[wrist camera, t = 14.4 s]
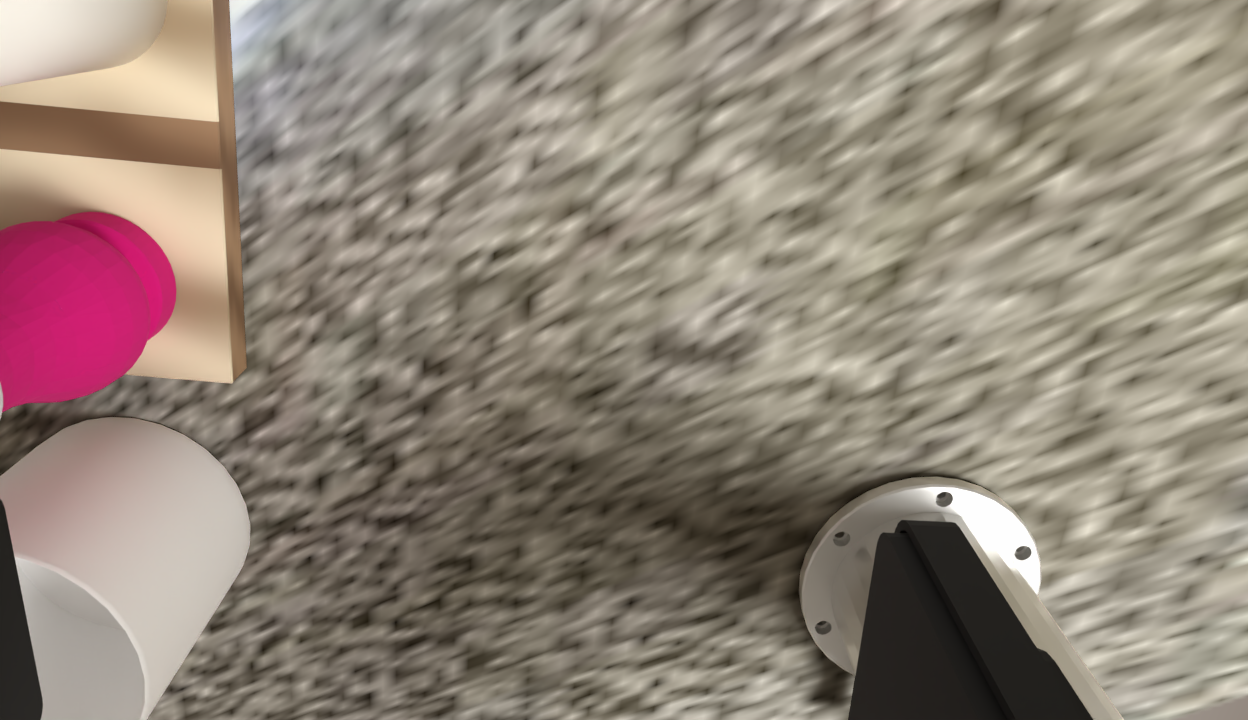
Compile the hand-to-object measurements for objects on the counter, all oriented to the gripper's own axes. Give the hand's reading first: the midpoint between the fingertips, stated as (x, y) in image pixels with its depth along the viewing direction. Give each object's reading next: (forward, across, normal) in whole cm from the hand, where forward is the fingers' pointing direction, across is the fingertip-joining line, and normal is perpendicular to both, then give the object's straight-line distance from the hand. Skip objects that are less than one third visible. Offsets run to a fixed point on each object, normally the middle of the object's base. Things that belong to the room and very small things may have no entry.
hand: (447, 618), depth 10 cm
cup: (+35, +22, +20) cm, 46 cm away
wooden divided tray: (+35, +20, 0) cm, 40 cm away
